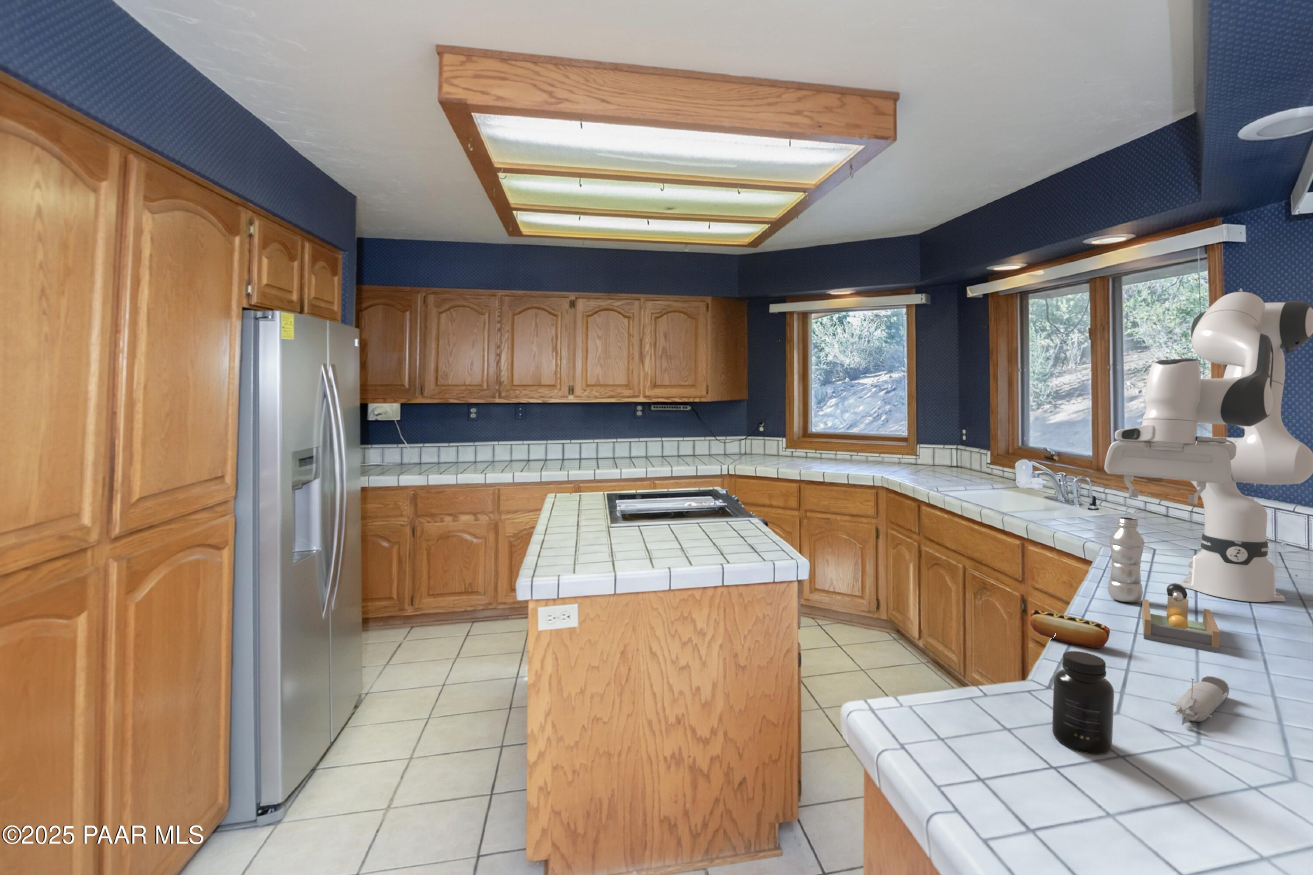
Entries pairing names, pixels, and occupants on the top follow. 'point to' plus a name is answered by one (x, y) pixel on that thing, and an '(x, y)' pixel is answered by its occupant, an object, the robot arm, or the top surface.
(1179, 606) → the glass stem black base
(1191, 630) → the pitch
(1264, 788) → the top surface
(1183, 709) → the torpedo
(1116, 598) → the plastic bottle
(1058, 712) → the supplement bottle
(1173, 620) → the ball
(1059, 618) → the hot dog
